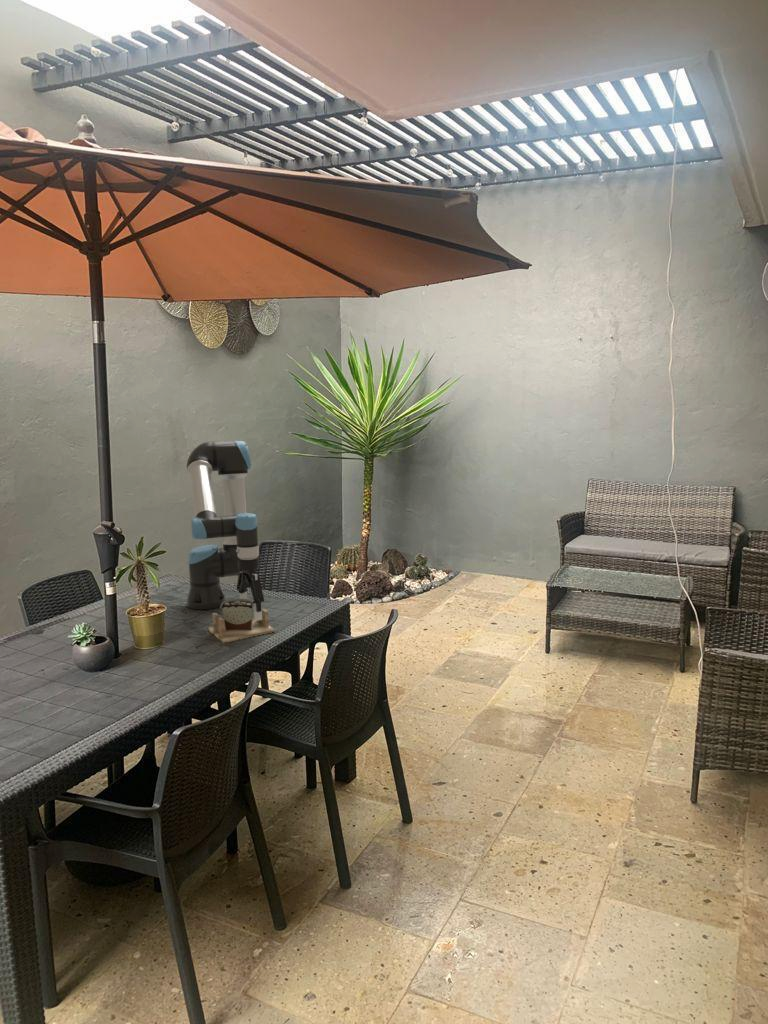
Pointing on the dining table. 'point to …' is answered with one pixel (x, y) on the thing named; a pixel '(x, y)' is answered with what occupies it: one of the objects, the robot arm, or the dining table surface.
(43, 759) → the dining table surface
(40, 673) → the dining table surface
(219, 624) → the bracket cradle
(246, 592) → the robot arm
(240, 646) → the dining table surface
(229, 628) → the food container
